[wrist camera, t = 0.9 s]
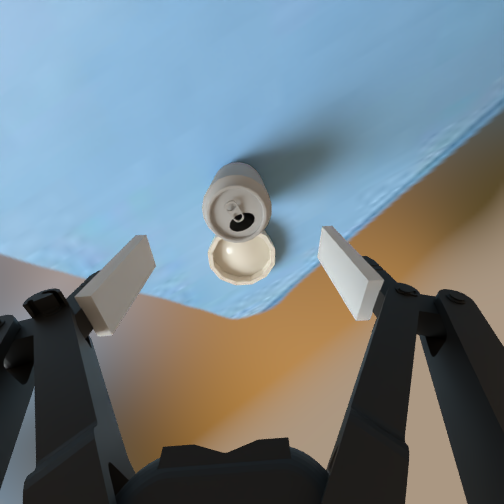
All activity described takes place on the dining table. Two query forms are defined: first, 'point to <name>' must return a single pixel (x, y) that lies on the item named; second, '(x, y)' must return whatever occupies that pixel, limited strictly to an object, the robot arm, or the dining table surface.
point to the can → (237, 203)
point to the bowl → (242, 259)
